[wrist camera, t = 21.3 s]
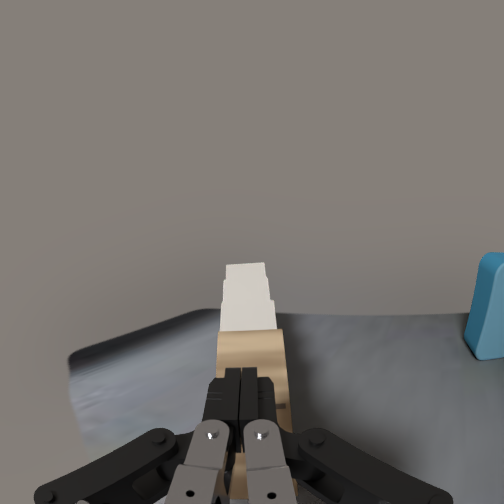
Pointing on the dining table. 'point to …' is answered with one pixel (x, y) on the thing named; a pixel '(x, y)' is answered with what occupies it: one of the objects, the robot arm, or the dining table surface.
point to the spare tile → (268, 365)
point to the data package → (487, 310)
